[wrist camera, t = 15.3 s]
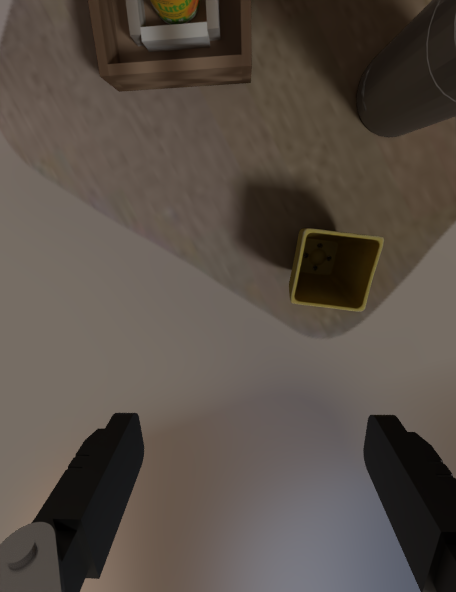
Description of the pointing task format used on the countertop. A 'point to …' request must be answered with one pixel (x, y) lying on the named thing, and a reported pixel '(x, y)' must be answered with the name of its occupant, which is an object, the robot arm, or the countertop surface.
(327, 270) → the flower pot
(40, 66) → the countertop surface
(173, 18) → the supplement bottle
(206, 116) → the countertop surface
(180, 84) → the walled box
